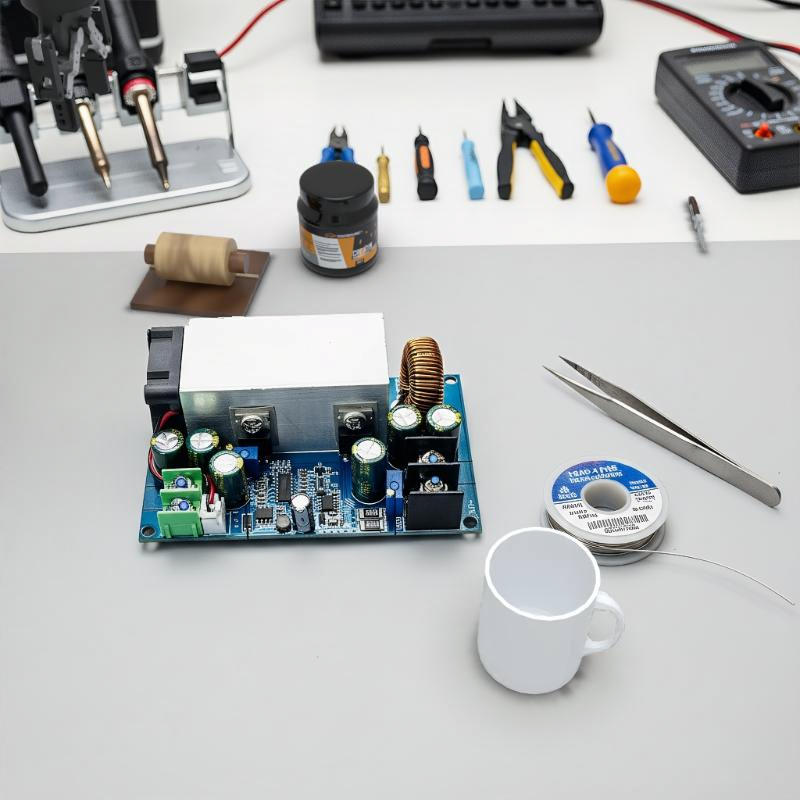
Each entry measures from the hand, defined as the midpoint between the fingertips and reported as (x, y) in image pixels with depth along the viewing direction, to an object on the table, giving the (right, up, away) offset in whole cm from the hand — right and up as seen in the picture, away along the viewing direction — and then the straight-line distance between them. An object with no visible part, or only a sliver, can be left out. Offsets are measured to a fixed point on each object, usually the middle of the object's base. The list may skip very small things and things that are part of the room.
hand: (85, 111), depth 105 cm
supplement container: (+25, -11, +29) cm, 40 cm away
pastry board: (+8, -15, +25) cm, 30 cm away
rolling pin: (+7, -15, +23) cm, 28 cm away
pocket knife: (+75, -7, +35) cm, 83 cm away
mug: (+46, -53, -15) cm, 72 cm away
